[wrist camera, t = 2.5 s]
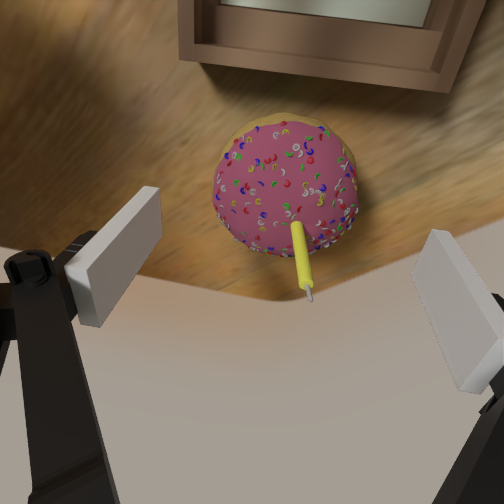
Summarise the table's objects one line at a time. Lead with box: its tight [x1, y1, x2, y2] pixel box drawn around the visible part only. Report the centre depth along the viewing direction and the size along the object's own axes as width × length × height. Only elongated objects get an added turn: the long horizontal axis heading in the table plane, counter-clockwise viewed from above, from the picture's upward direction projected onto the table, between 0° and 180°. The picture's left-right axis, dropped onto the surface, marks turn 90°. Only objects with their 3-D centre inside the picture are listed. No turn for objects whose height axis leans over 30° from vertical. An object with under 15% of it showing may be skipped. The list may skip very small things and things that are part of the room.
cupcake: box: [212, 112, 359, 302], centre depth 18 cm, size 9×8×12 cm
